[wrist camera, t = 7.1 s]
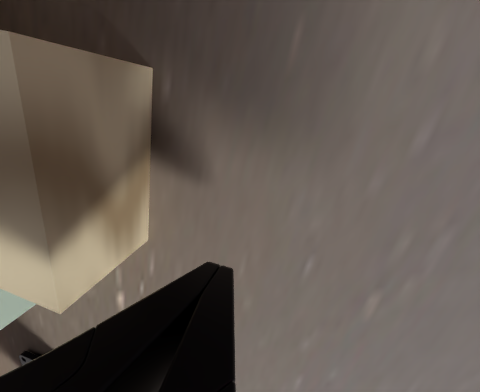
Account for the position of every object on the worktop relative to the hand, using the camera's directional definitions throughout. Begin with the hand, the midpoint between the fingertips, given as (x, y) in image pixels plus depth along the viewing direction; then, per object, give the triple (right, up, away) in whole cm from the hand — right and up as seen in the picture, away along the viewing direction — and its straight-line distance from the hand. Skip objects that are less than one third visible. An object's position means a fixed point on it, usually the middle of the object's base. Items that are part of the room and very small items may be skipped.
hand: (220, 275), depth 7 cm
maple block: (-7, +5, +4) cm, 10 cm away
